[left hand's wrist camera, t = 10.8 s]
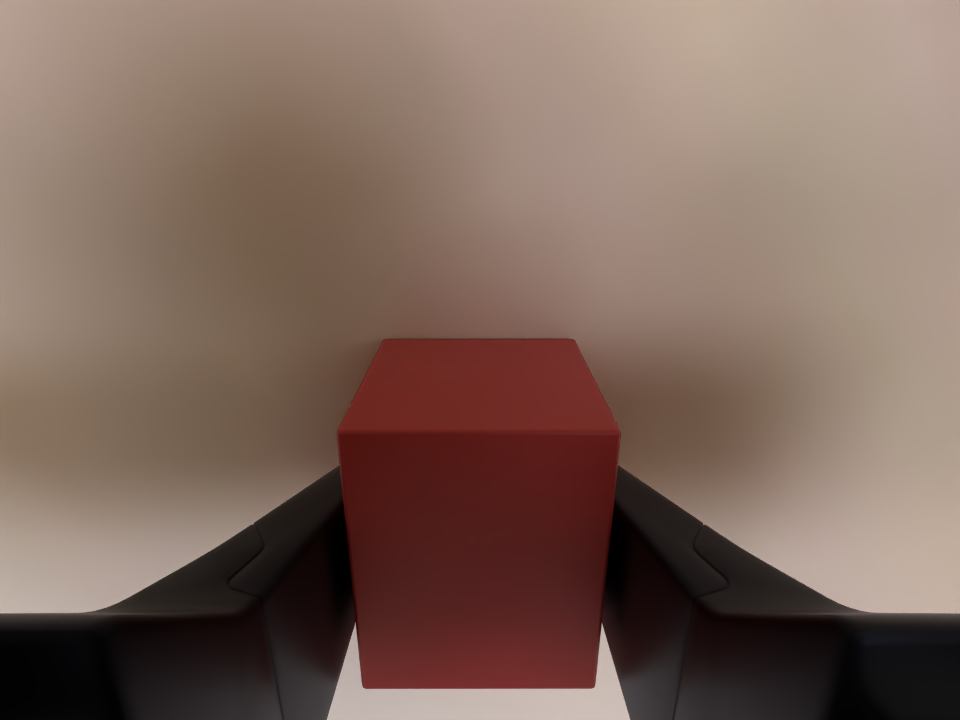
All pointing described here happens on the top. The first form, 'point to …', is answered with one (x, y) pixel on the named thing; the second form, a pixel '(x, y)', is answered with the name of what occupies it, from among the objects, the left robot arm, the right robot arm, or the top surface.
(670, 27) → the top surface
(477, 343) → the brick
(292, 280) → the top surface
